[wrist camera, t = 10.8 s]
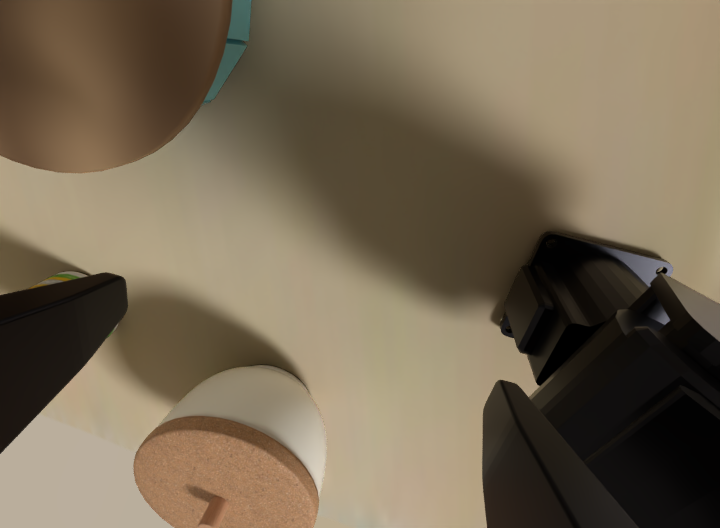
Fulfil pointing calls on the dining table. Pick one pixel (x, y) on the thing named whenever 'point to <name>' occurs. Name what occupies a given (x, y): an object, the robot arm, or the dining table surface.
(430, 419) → the dining table surface
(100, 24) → the lid
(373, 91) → the dining table surface
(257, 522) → the lidded jar
